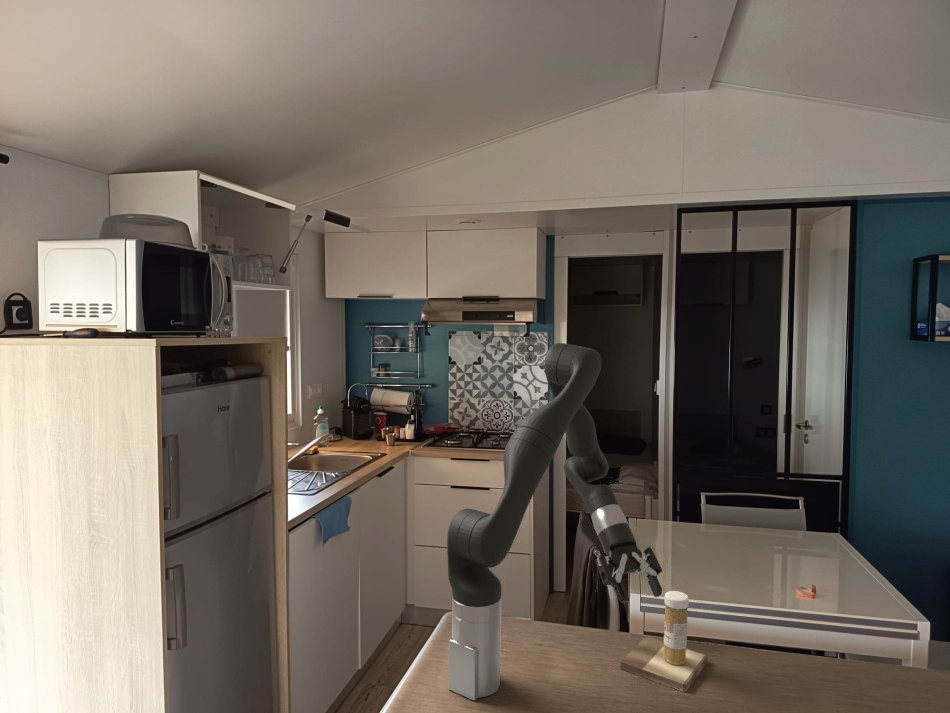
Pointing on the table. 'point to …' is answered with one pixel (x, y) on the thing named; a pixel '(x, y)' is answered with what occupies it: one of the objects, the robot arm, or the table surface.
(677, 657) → the sprinkles bottle
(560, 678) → the table surface
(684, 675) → the board
